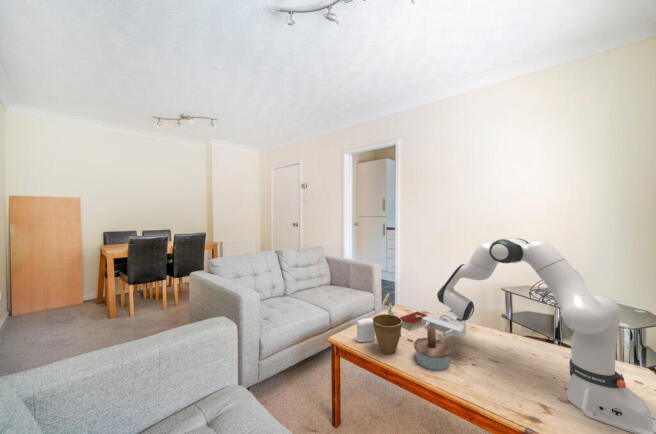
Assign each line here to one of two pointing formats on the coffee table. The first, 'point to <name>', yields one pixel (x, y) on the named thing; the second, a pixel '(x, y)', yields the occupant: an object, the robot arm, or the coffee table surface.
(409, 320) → the hardcover book
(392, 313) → the flower in vase
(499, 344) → the coffee table surface
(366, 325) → the photo printer
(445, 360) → the ceramic bowl
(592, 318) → the robot arm
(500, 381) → the coffee table surface
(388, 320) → the plant pot
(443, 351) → the walnut lid
